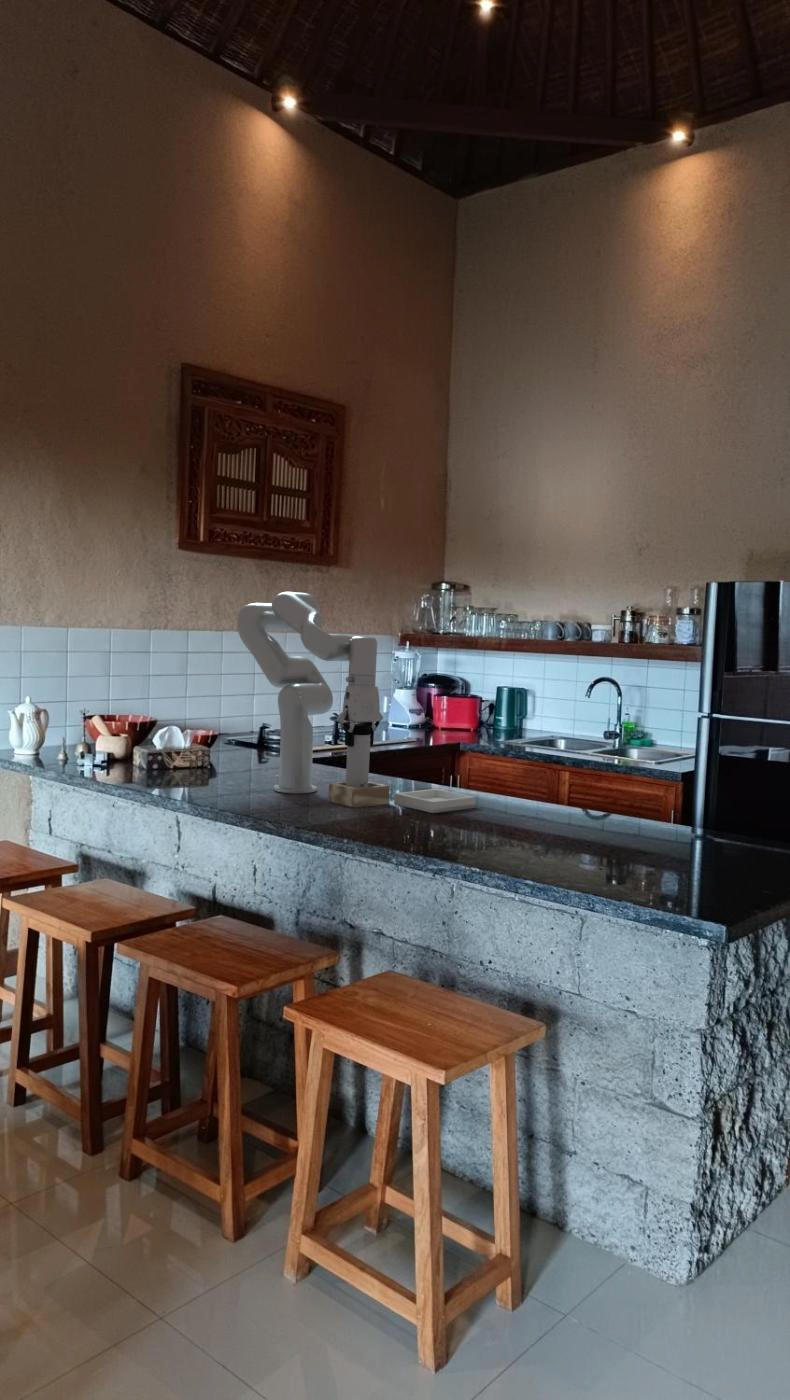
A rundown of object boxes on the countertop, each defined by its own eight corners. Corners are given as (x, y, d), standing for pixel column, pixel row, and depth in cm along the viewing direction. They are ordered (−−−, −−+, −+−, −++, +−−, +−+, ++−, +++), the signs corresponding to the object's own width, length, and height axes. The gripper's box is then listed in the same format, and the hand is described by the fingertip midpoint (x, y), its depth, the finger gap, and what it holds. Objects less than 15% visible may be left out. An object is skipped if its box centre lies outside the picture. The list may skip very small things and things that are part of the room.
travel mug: (368, 795, 281) (371, 724, 279) (344, 794, 281) (347, 722, 279) (369, 792, 287) (372, 721, 286) (345, 790, 287) (349, 720, 286)
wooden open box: (328, 800, 284) (329, 783, 284) (362, 797, 292) (362, 780, 292) (355, 807, 275) (355, 789, 275) (388, 803, 283) (389, 785, 283)
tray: (393, 803, 283) (394, 793, 283) (436, 798, 293) (436, 788, 293) (432, 813, 271) (433, 802, 271) (475, 807, 281) (475, 796, 281)
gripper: (345, 682, 273) (342, 748, 275) (394, 682, 284) (391, 745, 286) (328, 680, 279) (326, 745, 280) (377, 679, 290) (374, 742, 291)
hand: (359, 744), depth 283 cm, fingers closed on travel mug, 6 cm apart
